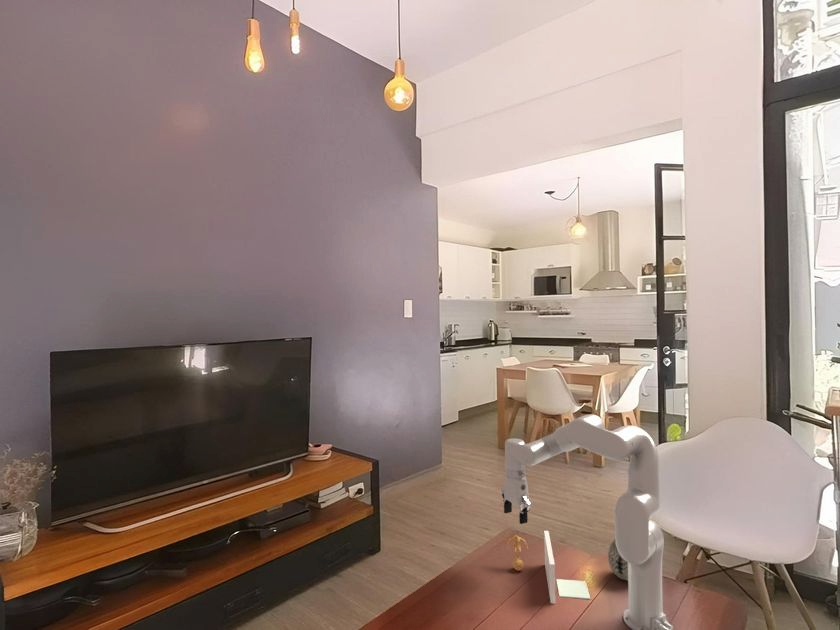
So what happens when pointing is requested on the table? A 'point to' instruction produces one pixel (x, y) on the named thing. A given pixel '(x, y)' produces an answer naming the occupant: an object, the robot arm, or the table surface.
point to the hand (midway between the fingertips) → (515, 517)
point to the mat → (573, 589)
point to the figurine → (517, 562)
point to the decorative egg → (617, 562)
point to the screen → (549, 567)
